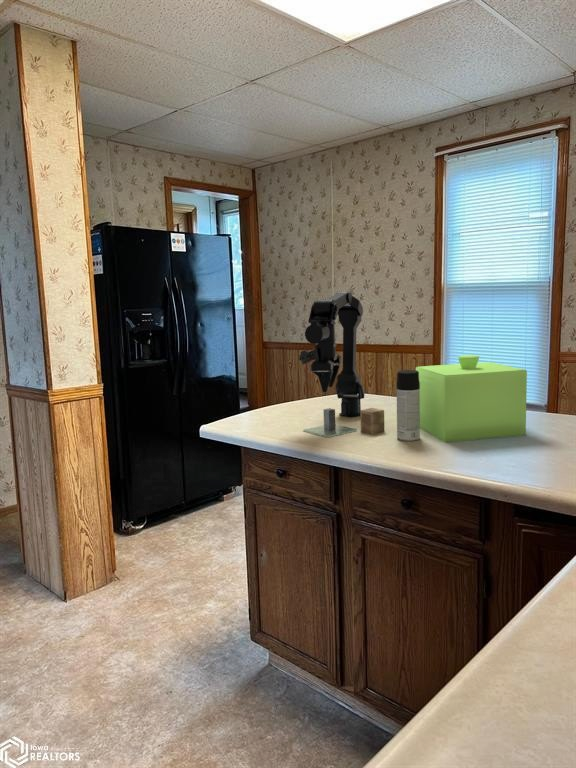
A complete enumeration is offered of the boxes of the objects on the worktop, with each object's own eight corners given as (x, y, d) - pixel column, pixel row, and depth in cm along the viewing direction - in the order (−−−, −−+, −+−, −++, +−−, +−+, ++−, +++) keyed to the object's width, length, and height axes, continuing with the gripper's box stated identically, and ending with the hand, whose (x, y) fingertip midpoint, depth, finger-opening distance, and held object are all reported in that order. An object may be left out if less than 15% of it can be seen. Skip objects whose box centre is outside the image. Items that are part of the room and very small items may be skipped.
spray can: (421, 436, 172) (420, 369, 169) (418, 442, 166) (418, 373, 163) (398, 435, 174) (397, 369, 171) (395, 441, 168) (394, 372, 165)
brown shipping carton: (372, 428, 184) (372, 407, 183) (384, 431, 180) (384, 409, 179) (360, 431, 181) (360, 410, 180) (372, 434, 177) (371, 412, 176)
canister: (444, 442, 164) (444, 362, 161) (416, 426, 185) (415, 354, 182) (525, 435, 168) (527, 356, 165) (488, 420, 189) (489, 350, 186)
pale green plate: (332, 424, 192) (331, 404, 191) (356, 430, 182) (356, 409, 181) (303, 431, 185) (302, 409, 184) (327, 437, 175) (326, 415, 174)
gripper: (307, 338, 192) (309, 384, 194) (293, 344, 174) (295, 394, 177) (341, 337, 189) (342, 384, 191) (329, 343, 171) (331, 395, 174)
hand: (327, 389), depth 183 cm, fingers open, 9 cm apart
